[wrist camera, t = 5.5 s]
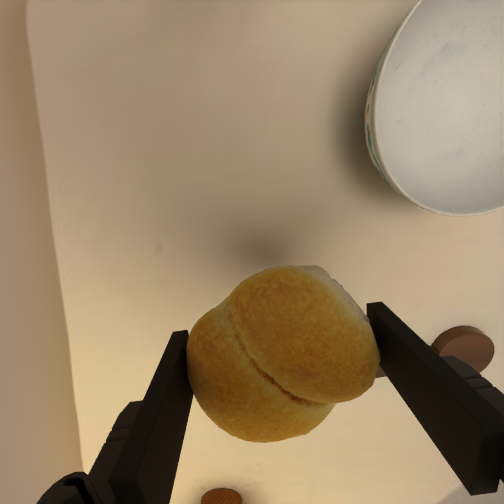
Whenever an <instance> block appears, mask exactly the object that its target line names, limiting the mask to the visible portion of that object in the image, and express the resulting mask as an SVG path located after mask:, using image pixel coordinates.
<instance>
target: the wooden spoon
mask: <svg viewBox="0 0 504 504" xmlns="http://www.w3.org/2000/svg"><path fill="white" fill-rule="evenodd" d="M430 347H431V348H432V349H433V350H434V351H435V352H436V353H437V354H438V355H439V356H440V357H443V356H450V355H452V356H454V357H456V358H458V359H460V360H462V361H464V362H465V363H467V364H469V365H470V366H471V367H472V368H473V369H475V370H476V371H477V372H478V373H480V372H481V371H483V370H484V369H485V368H486V367H487V366H488V365H489V363H490V362H491V360H492V358H493V355H494V344H493V342H492V341H491V339H490V338H489V337H487V336H486V335H484V334H483V333H482V332H480V331H479V330H477V329H475V328H473V327H469V326H460V327H455V328H452V329H450V330H447V331H446V332H444V333H443V334H441V335H440V336H439V337H438V338H437V339H436V340H435V341H434V343H433V344H432V346H430ZM385 376H387V375H386V374H385V373H384V371H383V370H382V368H381V367H380V366H378V371H377V374H376V377H375V378H379V377H385Z"/></svg>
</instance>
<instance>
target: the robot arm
mask: <svg viewBox="0 0 504 504" xmlns="http://www.w3.org/2000/svg"><path fill="white" fill-rule="evenodd" d="M367 317H368V318H369V320H370V322H369V324H370V326H371V328H372V332H373V334H374V337H375V340H376V343H377V346H378V350H379V353H380V357H381V358H380V363H379V366H380V367H381V368H382V370H383V371H384V373H385V374H386V375H387V377H388V378H389V380H390V381H391V383H392V384H393V385H394V387H395V388H396V390H397V391H398V393H399V394H400V395H401V397H402V398H403V400H404V401H405V402H406V404H407V405H408V407H409V408H410V410H411V411H412V412H413V414H414V415H415V417H416V418H417V420H418V421H419V422H420V424H421V425H422V427H423V428H424V430H425V431H426V432H427V434H428V435H429V437H430V438H431V439H432V441H433V442H434V444H435V445H436V447H437V448H438V449H439V451H440V452H441V454H442V455H443V457H444V458H445V459H446V461H447V462H448V464H449V465H450V466H451V468H452V469H453V471H454V472H455V474H456V475H457V476H458V478H459V479H460V481H461V482H462V484H463V485H464V486H465V488H466V489H467V491H468V492H469V493H470V495H471V496H472V495H479V494H487V493H494V492H497V489H498V484H499V480H500V479H501V480H502V481H503V483H504V394H503V393H502V392H500V391H499V390H498V389H497V388H496V387H493V386H492V384H491V383H490V382H489V381H488V380H486V379H485V378H484V377H482V376H481V374H479V373H478V372H477V371H476V370H475V369H473V368H472V367H471V366H470V365H469V364H467V363H465V362H464V361H462V360H460V359H458V358H456V357H454V356H452V355H450V356H443V357H440V356H439V355H438V354H437V353H436V352H435V351H434V350H433V349H432V348H431V347H430V346H428V345H427V344H426V343H425V342H424V341H423V340H422V339H421V338H420V337H419V336H418V335H417V334H416V333H415V332H414V331H412V330H411V329H410V328H409V327H408V326H407V325H406V324H405V323H404V322H403V321H402V320H401V319H400V318H399V317H398V316H396V315H395V314H394V313H393V312H392V311H391V310H390V309H389V308H388V307H387V306H386V305H385V304H384V303H383V302H382V301H381V302H374V303H367ZM188 338H189V334H188V330H183V331H176V332H173V333H172V335H171V338H170V340H169V342H168V344H167V347H166V349H165V351H164V354H163V356H162V358H161V360H160V363H159V365H158V367H157V369H156V372H155V374H154V376H153V379H152V381H151V383H150V385H149V388H148V390H147V392H146V395H145V397H144V399H143V400H141V401H135V402H130V403H129V404H128V405H127V406H126V407H125V408H124V410H123V411H122V412H121V413H120V414H119V416H118V418H117V420H116V422H115V424H114V425H113V427H112V431H110V433H109V435H108V437H107V439H106V443H104V445H103V447H102V449H101V451H100V453H99V455H98V457H97V459H96V461H95V463H94V465H93V467H92V469H91V470H90V472H89V474H88V475H87V474H86V473H85V472H74V473H71V474H69V475H66V476H64V477H63V478H62V479H60V480H59V481H57V482H56V483H54V484H53V485H52V486H51V487H50V488H49V489H48V490H47V491H46V492H45V493H44V494H43V495H42V497H41V498H40V500H39V501H38V502H37V504H169V503H170V498H171V494H172V489H173V485H174V480H175V476H176V471H177V467H178V462H179V458H180V453H181V449H182V444H183V440H184V435H185V431H186V426H187V422H188V417H189V413H190V408H191V404H192V399H193V395H194V393H193V391H192V388H191V386H190V383H189V379H188V376H187V362H186V349H187V341H188Z"/></svg>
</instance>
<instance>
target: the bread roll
mask: <svg viewBox="0 0 504 504" xmlns="http://www.w3.org/2000/svg"><path fill="white" fill-rule="evenodd" d="M369 322H370V320H369V318H368V317H367V316H366V315H365V313H364V312H363V311H362V310H361V308H360V307H359V306H358V304H357V303H356V302H355V301H354V300H353V298H352V297H351V296H350V295H349V294H348V293H347V292H346V291H345V290H344V288H343V287H342V285H340V284H339V283H338V282H337V281H336V280H335V279H332V278H331V277H330V276H329V274H328V273H327V271H326V270H324V269H323V268H321V267H319V266H278V267H272V268H269V269H266V270H264V271H262V272H259V273H257V274H255V275H253V276H251V277H249V278H248V279H246V280H244V281H243V282H241V283H240V284H239V285H238V286H237V287H236V289H235V290H234V291H233V292H232V293H231V294H230V296H229V297H228V298H226V299H225V300H224V301H223V302H222V303H221V304H220V305H218V306H217V307H215V308H214V309H212V310H210V311H209V312H207V313H206V314H205V315H204V316H202V317H201V318H200V319H199V320H198V321H197V323H196V324H195V325H194V327H193V328H192V330H191V333H190V335H189V338H188V341H187V349H186V362H187V376H188V379H189V383H190V386H191V388H192V391H193V393H194V395H195V397H196V399H197V401H198V403H199V405H200V406H201V408H202V409H203V411H204V412H205V413H206V414H207V416H208V417H209V418H210V419H211V420H212V421H213V422H214V423H215V424H216V425H218V426H219V427H220V428H221V429H223V430H224V431H226V432H227V433H229V434H230V435H232V436H235V437H237V438H239V439H242V440H245V441H251V442H262V443H266V442H274V441H280V440H284V439H287V438H292V437H296V436H300V435H305V434H307V433H309V432H310V431H311V430H312V429H314V428H315V427H316V426H318V425H319V424H320V423H321V422H322V421H323V420H324V419H325V417H326V416H327V415H328V414H329V413H330V411H331V410H332V409H333V407H334V406H335V404H336V403H340V402H345V401H350V400H353V399H355V398H357V397H359V396H361V395H362V394H363V393H364V392H365V391H367V390H368V389H369V388H370V387H371V386H372V385H373V382H374V379H375V377H376V374H377V371H378V366H379V363H380V358H381V357H380V353H379V350H378V346H377V343H376V340H375V337H374V334H373V332H372V328H371V326H370V324H369Z"/></svg>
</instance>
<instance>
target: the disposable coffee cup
mask: <svg viewBox="0 0 504 504" xmlns="http://www.w3.org/2000/svg"><path fill="white" fill-rule="evenodd" d="M201 504H242V499H241V497H240V495H239V494H238V493H236V492H234V491H232V490H229V489H216V490H212V491H210V492H208V493H206V494H205V495H204V496H203V497H202V500H201Z"/></svg>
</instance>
